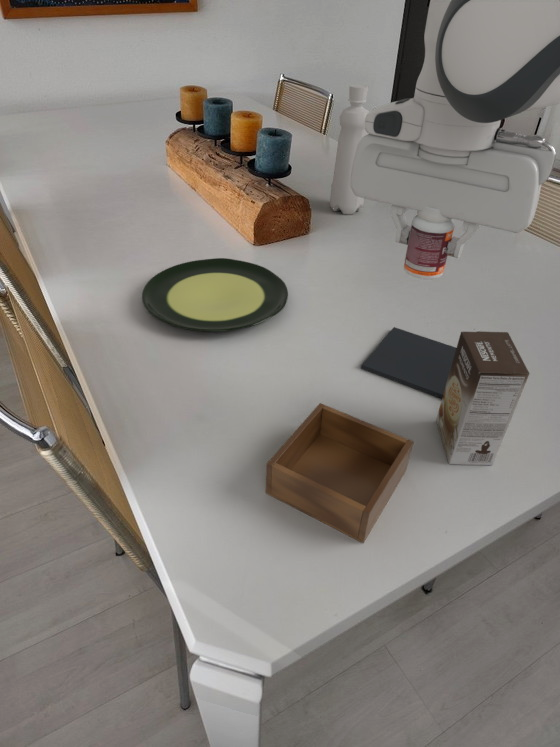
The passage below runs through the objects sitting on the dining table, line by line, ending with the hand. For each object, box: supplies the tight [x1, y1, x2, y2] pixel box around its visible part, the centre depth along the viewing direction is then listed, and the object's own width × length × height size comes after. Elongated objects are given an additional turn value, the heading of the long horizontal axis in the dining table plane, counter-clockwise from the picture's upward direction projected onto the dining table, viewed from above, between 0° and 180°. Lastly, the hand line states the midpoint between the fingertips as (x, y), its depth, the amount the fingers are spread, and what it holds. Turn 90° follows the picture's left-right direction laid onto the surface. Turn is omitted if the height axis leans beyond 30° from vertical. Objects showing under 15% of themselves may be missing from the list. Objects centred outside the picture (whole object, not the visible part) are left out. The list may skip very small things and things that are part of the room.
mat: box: [360, 326, 457, 399], centre depth 91 cm, size 20×14×1 cm
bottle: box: [329, 83, 370, 215], centre depth 138 cm, size 9×9×30 cm
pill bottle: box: [403, 207, 455, 280], centre depth 63 cm, size 5×5×8 cm
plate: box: [141, 257, 289, 332], centre depth 105 cm, size 28×28×2 cm
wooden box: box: [265, 402, 414, 544], centre depth 69 cm, size 14×14×5 cm
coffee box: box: [435, 330, 531, 466], centre depth 72 cm, size 9×6×16 cm
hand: (427, 248), depth 64 cm, fingers closed on pill bottle, 5 cm apart
